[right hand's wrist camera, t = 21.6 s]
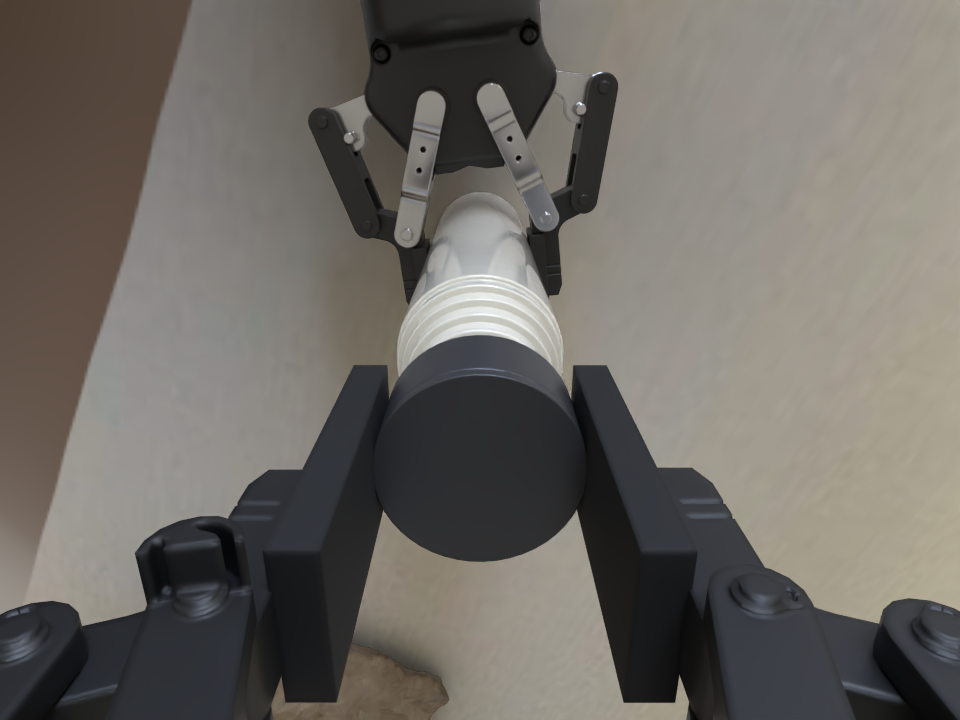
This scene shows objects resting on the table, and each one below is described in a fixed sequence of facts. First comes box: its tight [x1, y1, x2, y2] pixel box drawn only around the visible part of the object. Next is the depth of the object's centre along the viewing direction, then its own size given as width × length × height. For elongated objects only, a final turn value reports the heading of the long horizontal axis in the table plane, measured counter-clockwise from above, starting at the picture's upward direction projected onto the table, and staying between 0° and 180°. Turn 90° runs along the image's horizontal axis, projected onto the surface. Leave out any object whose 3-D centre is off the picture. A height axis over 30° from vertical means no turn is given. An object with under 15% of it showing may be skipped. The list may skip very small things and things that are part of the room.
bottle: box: [397, 192, 564, 377], centre depth 25 cm, size 5×5×25 cm
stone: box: [271, 643, 449, 720], centre depth 46 cm, size 21×15×6 cm
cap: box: [373, 335, 587, 562], centre depth 14 cm, size 4×4×2 cm
